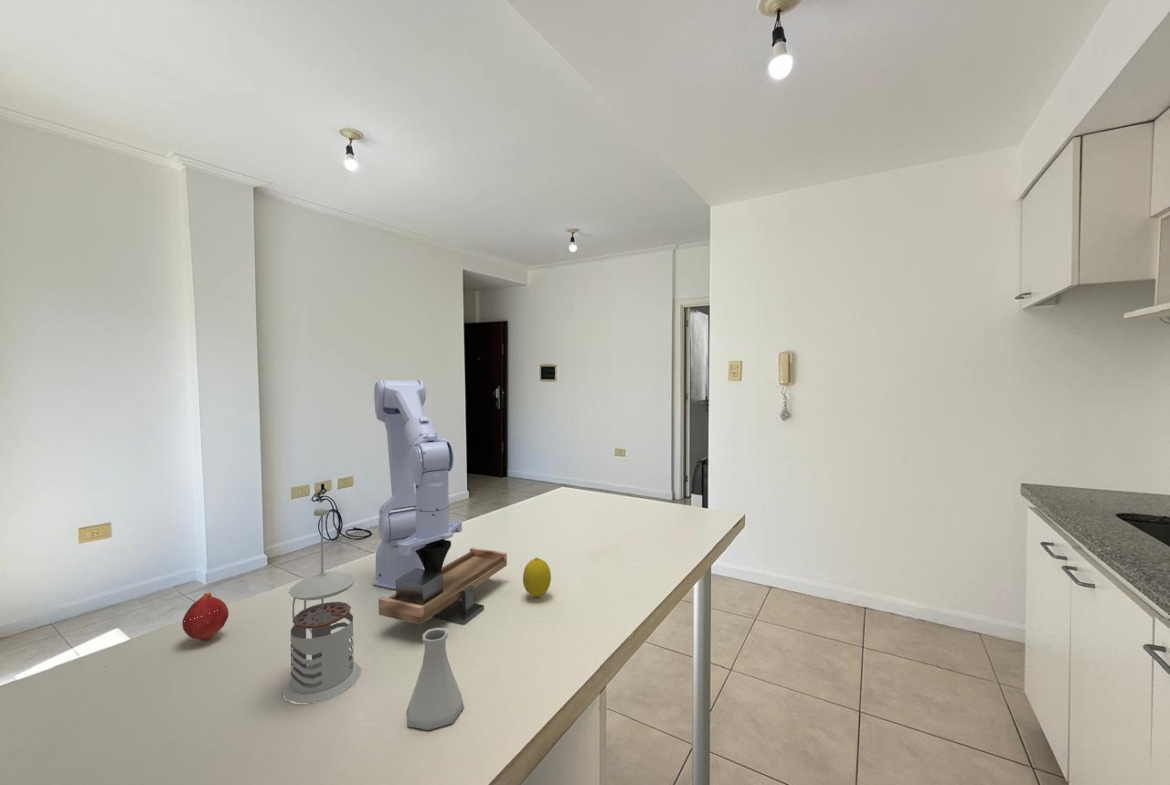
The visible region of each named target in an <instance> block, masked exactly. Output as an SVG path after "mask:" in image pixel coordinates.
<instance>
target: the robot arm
mask: <svg viewBox="0 0 1170 785" xmlns="http://www.w3.org/2000/svg"><path fill="white" fill-rule="evenodd" d="M373 389H374V391H373V395H374V396H373V397H374V398H373V399H374V409H375V411H374V412H375V415H376V419H377V420H378V421H381V422H382V423H384V426H385V431H386V436H387V437H386V439H387V450H388V462H389V473H390V474H389V475H390V487H391V488H390V489H391V497H389V499H387V500H386V501H385V502H384V503H383V504H382V505H381V506H380V509H379V511H378V513H379V514H378V518H379V519H378V534H379V539H380V541H381V542H380V544H378V546H377V549H376V552H375V580H374V581H373V582H372V585H373V586H377V587H382V588H387V589H391V590H395V591H396V586H395V580H397V579H398V578H400V577H402V576H403V575H405V574H407V573H408V572H410V571H412V570H413V569H415V568H419V569H424V570H430V571H435V572H441V569H442V567H444V566H443V565H444V562H445V560H446V557H447V555H448V552H449V551H450V549H451V547H452V541H451V540H449V539H450V538H453V537H454V534H455V533H457V534H458V533H461V532H462V531H463V523H462V521H459V520H451V521H450V520H449V514H450V513H449V512H450V509H449V505H450V504H449V503H450V502H449V472H451V471H452V469H453V465H454V450H453V446H452V444H451V442H450V441H449V440H448V439H445V438H444V437H441V436H440V432H439V431H438V429H437V427H436V425H435V422H434V421H433V419H432V418H430V417H429V416H426V415H425V412H424V405H425V402H426V396H427V395H426V394H427V392H426V385H425V383H424V382H423V380H421V379H417V380H416V379H415V380H405V379H404V380H401V379H400V380H398V379H397V380H396V379H394V380H393V379H378V380H377V381H376V382H375V383H374V388H373ZM409 508H411V509H409ZM404 509H405V510H404ZM397 510H398V511H397ZM392 511H393V512H392Z"/></svg>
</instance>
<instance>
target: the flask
mask: <svg viewBox="0 0 1170 785" xmlns="http://www.w3.org/2000/svg"><path fill="white" fill-rule="evenodd" d="M448 636H449V634H448V629H447V628H442V627H436V628H430V629H427V630H426V631H425V632H424V633H423V634H422V635H421V637H422V643H423V645H424V653H423V658H422V663H421V668H420V671H419V673H418V677H417V680H416V682H415V683H416V684H415V686H414V689H413V690H412V691H413V692H412V694H411V697H410V700H409V703H408V706H407V708H406V723H407V727H410V728H411V727H412V728H416V729H421V730H427V731H430V730H433V729H436V728H440V727H443V726H447V725H451V724H454V722H455V721H456V719H457V718H458V716H459V715H460V714H461V712H462V710H464V708H465V705H464V701H463V697H462V693H461V690H460V688H459V685H458V683H457V681H456V678H455V675H454V673H453V670H452V667H451V664H450V662H449V660H448V655H447V648H446V645H447V644H446V641H447V639H448Z"/></svg>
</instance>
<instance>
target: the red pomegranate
mask: <svg viewBox="0 0 1170 785" xmlns="http://www.w3.org/2000/svg"><path fill="white" fill-rule="evenodd" d="M217 610H218V611H217ZM214 611H215V612H214ZM185 612H186V613H185V614H184V616H183V618H182V624H181V625H182V630H183V631H184V633H185V634H186V635H187V636H188V637H191V638H192V639H196V640H200V641H204V642H206V641H210V640H211V639H212V638H213V637H214V636H215V635H216V634H217V633H218V632H219V631H221V629H223V627H224V626H225V624H226V622H227V620H228V618H229V613H230V612H229V608H228V606H227V604H226V603H225V601H223V600H221V599H220V598H218V597H215V596H212V593H211V591H207V592H205V593H204V594H203V595H201V597H200V598H198V599H197V600H195V602H193V603H192V605H190V607H189V608H188V610H187V611H185ZM209 613H210V614H209ZM201 616H202V617H201ZM197 617H198V618H197ZM194 618H195V619H194ZM190 619H191V620H190ZM184 621H185V622H184Z"/></svg>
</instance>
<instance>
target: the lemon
mask: <svg viewBox="0 0 1170 785" xmlns="http://www.w3.org/2000/svg"><path fill="white" fill-rule="evenodd" d="M551 574H552V573H551V569H550V566H549V564H548V563H547V562H546V561H545V560H543V559H542V558H539V557H535V558H534V559H531V560H530V561H528V562H527V564H526V565H525V567H524V570H523V574H522V584H523V587H524V589H525V591H526V592H527V593H528V594H529V595H530V596H532V597H534V598H536V599H539V598H540V597H541V596H543V595H544V594H545V593H546V592H548V590H549V588H550V587H551V586H550V585H551V580H552V575H551Z"/></svg>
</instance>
